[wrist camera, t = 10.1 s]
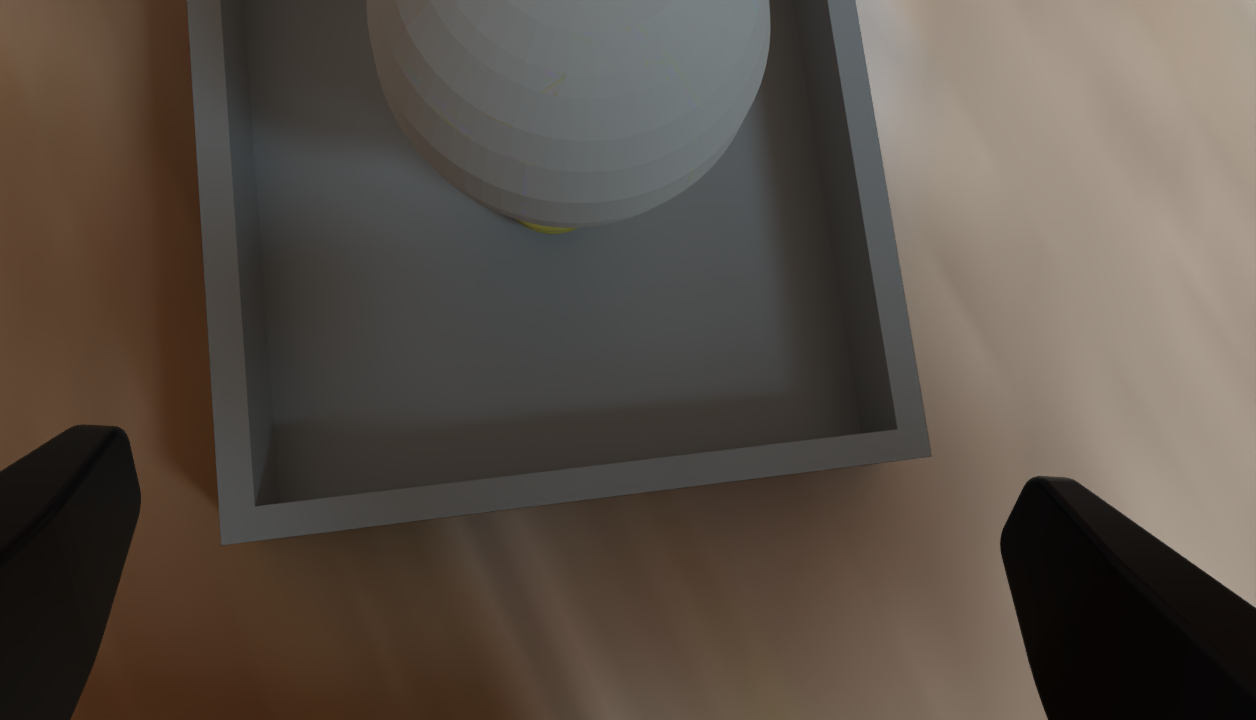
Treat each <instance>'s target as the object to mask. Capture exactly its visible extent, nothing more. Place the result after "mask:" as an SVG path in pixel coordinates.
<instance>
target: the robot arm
mask: <svg viewBox="0 0 1256 720" xmlns="http://www.w3.org/2000/svg"><path fill="white" fill-rule="evenodd" d="M140 505H141V492H140V487H139V482H138V478H137V473H136V469H135V464H134V460H133V455H132V451H131V447H130V442H129V439H128V436H127V434H126V433H125V431H124V430H123V429H121V428H119V427H116V426H101V425H76V426H73V427H71V428H69V429H67V430H65V431H64V432H62V433H60V434H59V435H57V436H56V437H54V438H53V439H51V440H49V441H48V442H46V443H45V444H43V445H41V446H40V447H38V448H37V449H35V450H34V451H32V452H30V453H29V454H27V455H26V456H24V457H22V458H21V459H19V460H18V461H16V462H15V463H13V464H11V465H10V466H8V467H7V468H5V469H3V470H2V471H0V720H70V719H71V717H72V714H73V712H74V710H75V708H76V705H77V703H78V701H79V698H80V696H81V694H82V691H83V689H84V687H85V684H86V682H87V679H88V677H89V674H90V672H91V669H92V667H93V664H94V662H95V659H96V656H97V653H98V650H99V647H100V644H101V641H102V638H103V635H104V631H105V628H106V624H107V621H108V618H109V614H110V611H111V608H112V604H113V601H114V598H115V594H116V591H117V587H118V584H119V581H120V577H121V574H122V571H123V567H124V564H125V561H126V557H127V554H128V550H129V547H130V544H131V540H132V537H133V534H134V530H135V527H136V524H137V520H138V517H139V512H140ZM1000 548H1001V555H1002V559H1003V563H1004V567H1005V571H1006V575H1007V579H1008V583H1009V586H1010V590H1011V594H1012V598H1013V602H1014V606H1015V610H1016V614H1017V618H1018V622H1019V625H1020V629H1021V633H1022V637H1023V641H1024V645H1025V649H1026V653H1027V657H1028V661H1029V664H1030V668H1031V671H1032V674H1033V678H1034V681H1035V684H1036V687H1037V690H1038V693H1039V696H1040V699H1041V702H1042V705H1043V708H1044V710H1045V713H1046V716H1047V718H1048V720H1256V608H1255V607H1254V606H1252V605H1251V604H1249V603H1248V602H1247V601H1245V600H1244V599H1242V598H1241V597H1239V596H1238V595H1237V594H1235V593H1234V592H1232V591H1231V590H1230V589H1228V588H1227V587H1225V586H1224V585H1222V584H1221V583H1220V582H1218V581H1217V580H1215V579H1214V578H1213V577H1211V576H1210V575H1208V574H1207V573H1205V572H1204V571H1203V570H1201V569H1200V568H1198V567H1197V566H1196V565H1194V564H1193V563H1191V562H1190V561H1188V560H1187V559H1186V558H1184V557H1183V556H1181V555H1180V554H1179V553H1177V552H1176V551H1174V550H1173V549H1172V548H1170V547H1169V546H1167V545H1166V544H1164V543H1163V542H1162V541H1160V540H1159V539H1157V538H1156V537H1155V536H1153V535H1152V534H1150V533H1149V532H1147V531H1146V530H1145V529H1143V528H1142V527H1140V526H1139V525H1138V524H1136V523H1135V522H1133V521H1132V520H1130V519H1129V518H1128V517H1126V516H1125V515H1123V514H1122V513H1121V512H1119V511H1118V510H1116V509H1115V508H1114V507H1112V506H1111V505H1109V504H1108V503H1106V502H1105V501H1104V500H1102V499H1101V498H1099V497H1098V496H1097V495H1095V494H1094V493H1092V492H1091V491H1089V490H1088V489H1087V488H1085V487H1084V486H1082V485H1081V484H1080V483H1078V482H1077V481H1075V480H1073V479H1070V478H1065V477H1049V476H1037V477H1033V478H1031V479H1030V480H1029V481H1028V482H1027V483H1026V484H1025V486H1024V487H1023V489H1022V491H1021V493H1020V495H1019V497H1018V500H1017V502H1016V504H1015V506H1014V508H1013V510H1012V512H1011V514H1010V516H1009V518H1008V520H1007V522H1006V524H1005V526H1004V528H1003V530H1002V534H1001V540H1000Z"/></svg>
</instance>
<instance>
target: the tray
mask: <svg viewBox="0 0 1256 720" xmlns="http://www.w3.org/2000/svg"><path fill="white" fill-rule="evenodd" d="M366 2H367V0H187V11H188V27H189V43H190V58H191V74H192V90H193V106H194V122H195V138H196V153H197V169H198V185H199V201H200V217H201V233H202V249H203V264H204V280H205V296H206V312H207V328H208V344H209V359H210V375H211V391H212V407H213V423H214V439H215V455H216V470H217V486H218V502H219V518H220V534H221V545H228V544H236V543H244V542H253V541H261V540H269V539H277V538H285V537H293V536H301V535H309V534H317V533H325V532H333V531H341V530H349V529H357V528H365V527H373V526H381V525H389V524H397V523H405V522H413V521H421V520H429V519H437V518H445V517H453V516H461V515H469V514H477V513H485V512H492V511H500V510H508V509H516V508H524V507H532V506H540V505H548V504H556V503H564V502H572V501H580V500H588V499H596V498H604V497H612V496H620V495H628V494H636V493H644V492H652V491H660V490H668V489H676V488H684V487H692V486H700V485H708V484H716V483H724V482H732V481H740V480H748V479H756V478H764V477H772V476H780V475H788V474H796V473H804V472H812V471H820V470H828V469H836V468H844V467H852V466H860V465H868V464H876V463H884V462H892V461H900V460H908V459H916V458H924V457H931V456H932V455H931V449H930V443H929V437H928V431H927V425H926V419H925V413H924V407H923V401H922V395H921V389H920V383H919V377H918V371H917V365H916V360H915V354H914V348H913V342H912V336H911V330H910V324H909V318H908V312H907V306H906V300H905V294H904V288H903V282H902V276H901V270H900V264H899V258H898V252H897V246H896V240H895V234H894V228H893V223H892V217H891V211H890V205H889V199H888V193H887V187H886V181H885V175H884V169H883V163H882V157H881V151H880V145H879V139H878V133H877V127H876V121H875V115H874V109H873V103H872V97H871V91H870V85H869V80H868V74H867V68H866V62H865V56H864V50H863V44H862V38H861V32H860V26H859V20H858V14H857V8H856V2H855V0H769V6H770V44H769V52H768V58H767V63H766V68H765V71H764V74H763V78H762V81H761V84H760V87H759V89H758V92H757V94H756V96H755V99H754V101H753V103H752V105H751V107H750V109H749V111H748V113H747V114H746V116H745V118H744V120H743V122H742V124H741V126H740V128H739V130H738V131H737V133H736V135H735V137H734V139H733V140H732V142H731V143H730V145H729V146H728V148H727V149H726V151H725V152H724V153H723V155H722V156H721V157H720V158H719V159H718V161H717V162H716V163H715V164H714V165H713V166H712V168H710V169H709V170H708V171H707V172H706V173H705V174H704V175H703V176H702V177H701V178H700V179H699V180H698V181H696V182H695V183H694V184H692V185H691V186H690V187H688V188H687V189H686V190H684V191H683V192H681V193H680V194H678V195H676V196H675V197H673V198H671V199H670V200H668V201H666V202H664V203H662V204H660V205H658V206H656V207H654V208H652V209H650V210H648V211H646V212H644V213H642V214H640V215H637V216H634V217H631V218H629V219H626V220H623V221H619V222H615V223H611V224H607V225H600V226H594V227H582V228H577V229H575V230H573V231H570V232H566V233H561V234H545V233H540V232H536V231H534V230H531V229H529V228H527V227H525V226H523V225H522V224H520V223H519V222H518V221H517V220H516V219H514V218H511V217H508V216H505V215H502V214H500V213H498V212H496V211H493V210H491V209H489V208H487V207H485V206H483V205H482V204H480V203H478V202H476V201H474V200H473V199H471V198H470V197H468V196H467V195H465V194H464V193H462V192H461V191H460V190H458V189H457V188H456V187H455V186H453V185H452V184H451V183H450V182H449V181H447V180H446V179H445V178H444V177H443V176H442V175H441V174H440V173H439V172H438V171H437V170H436V169H434V168H433V167H432V166H431V164H430V163H429V162H428V161H427V160H426V159H425V158H424V157H423V156H422V155H421V154H420V153H419V152H418V151H417V149H416V148H415V147H414V146H413V145H412V143H411V142H410V141H409V140H408V138H407V137H406V135H405V134H404V132H403V131H402V129H401V127H400V126H399V124H398V123H397V121H396V119H395V117H394V115H393V113H392V111H391V109H390V108H389V105H388V103H387V100H386V98H385V95H384V93H383V90H382V87H381V84H380V80H379V77H378V73H377V69H376V65H375V60H374V55H373V51H372V46H371V41H370V35H369V30H368V23H367V7H366Z"/></svg>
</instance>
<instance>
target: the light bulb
mask: <svg viewBox="0 0 1256 720" xmlns="http://www.w3.org/2000/svg"><path fill="white" fill-rule="evenodd" d="M366 7H367V23H368V30H369V35H370V41H371V46H372V51H373V55H374V60H375V65H376V69H377V73H378V77H379V80H380V84H381V87H382V90H383V93H384V95H385V98H386V100H387V103H388V105H389V108H390V109H391V111H392V113H393V115H394V117H395V119H396V121H397V123H398V124H399V126H400V127H401V129H402V131H403V132H404V134H405V135H406V137H407V138H408V140H409V141H410V142H411V143H412V145H413V146H414V147H415V148H416V149H417V151H418V152H419V153H420V154H421V155H422V156H423V157H424V158H425V159H426V160H427V161H428V162H429V163H430V164H431V166H432V167H433V168H434V169H436V170H437V171H438V172H439V173H440V174H441V175H442V176H443V177H444V178H445V179H446V180H447V181H449V182H450V183H451V184H452V185H453V186H455V187H456V188H457V189H458V190H460V191H461V192H462V193H464V194H465V195H467V196H468V197H470V198H471V199H473V200H474V201H476V202H478V203H480V204H482V205H483V206H485V207H487V208H489V209H491V210H493V211H496V212H498V213H500V214H502V215H505V216H508V217H511V218H514V219H516V220H517V221H518V222H519V223H520V224H522V225H523V226H525V227H527V228H529V229H531V230H534V231H536V232H540V233H545V234H561V233H566V232H570V231H573V230H575V229H577V228H582V227H594V226H600V225H607V224H611V223H615V222H619V221H623V220H626V219H629V218H631V217H634V216H637V215H640V214H642V213H644V212H646V211H648V210H650V209H652V208H654V207H656V206H658V205H660V204H662V203H664V202H666V201H668V200H670V199H671V198H673V197H675V196H676V195H678V194H680V193H681V192H683V191H684V190H686V189H687V188H688V187H690V186H691V185H692V184H694V183H695V182H696V181H698V180H699V179H700V178H701V177H702V176H703V175H704V174H705V173H706V172H707V171H708V170H709V169H710V168H712V166H713V165H714V164H715V163H716V162H717V161H718V159H719V158H720V157H721V156H722V155H723V153H724V152H725V151H726V149H727V148H728V146H729V145H730V143H731V142H732V140H733V139H734V137H735V135H736V133H737V131H738V130H739V128H740V126H741V124H742V122H743V120H744V118H745V116H746V114H747V113H748V111H749V109H750V107H751V105H752V103H753V101H754V99H755V96H756V94H757V92H758V89H759V87H760V84H761V81H762V78H763V74H764V71H765V68H766V63H767V58H768V52H769V44H770V6H769V0H367V2H366Z"/></svg>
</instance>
